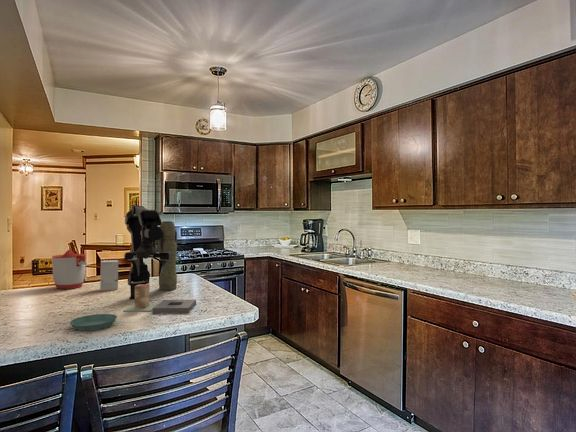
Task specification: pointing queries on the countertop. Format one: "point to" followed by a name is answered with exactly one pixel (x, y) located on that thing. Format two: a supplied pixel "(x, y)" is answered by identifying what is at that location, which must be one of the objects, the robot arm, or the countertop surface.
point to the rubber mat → (133, 309)
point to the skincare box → (109, 275)
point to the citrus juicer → (69, 270)
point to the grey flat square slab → (174, 306)
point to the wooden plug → (142, 296)
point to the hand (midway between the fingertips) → (148, 275)
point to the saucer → (93, 322)
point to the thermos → (170, 245)
